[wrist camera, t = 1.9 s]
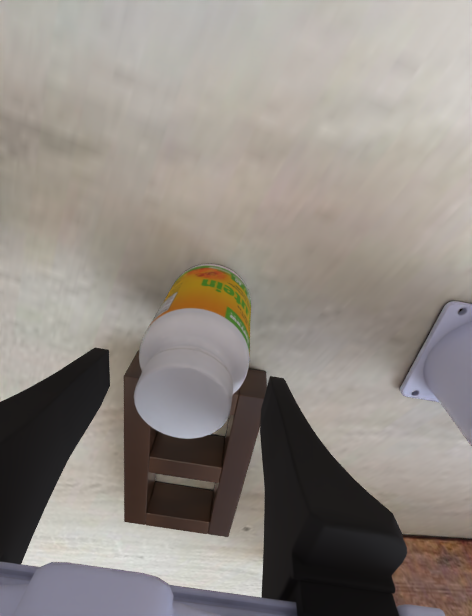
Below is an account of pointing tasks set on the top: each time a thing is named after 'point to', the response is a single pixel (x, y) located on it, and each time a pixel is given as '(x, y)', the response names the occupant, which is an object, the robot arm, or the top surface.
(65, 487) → the top surface
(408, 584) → the book
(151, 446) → the hole block
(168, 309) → the supplement bottle
